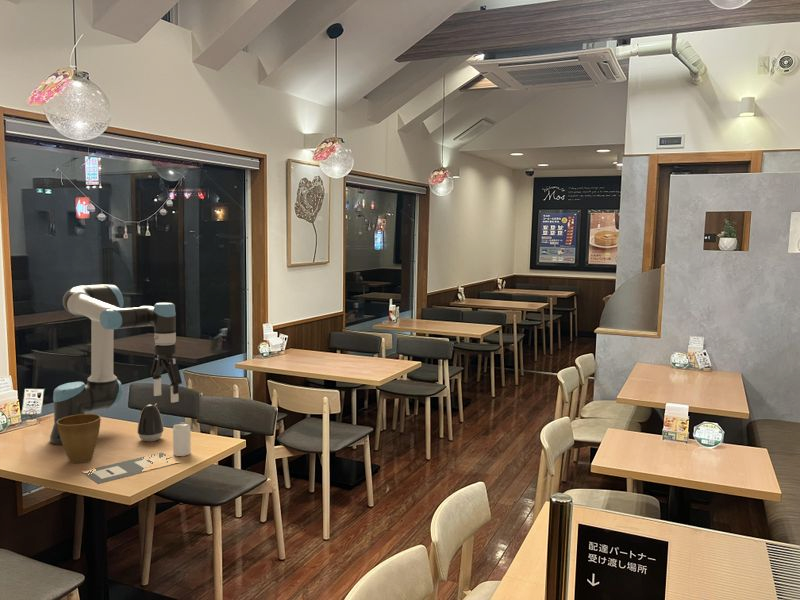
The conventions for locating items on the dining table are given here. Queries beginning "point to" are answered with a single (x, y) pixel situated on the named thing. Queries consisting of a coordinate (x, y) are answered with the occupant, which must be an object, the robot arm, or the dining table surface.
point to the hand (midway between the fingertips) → (166, 398)
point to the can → (181, 439)
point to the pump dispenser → (150, 423)
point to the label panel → (122, 469)
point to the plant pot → (79, 436)
